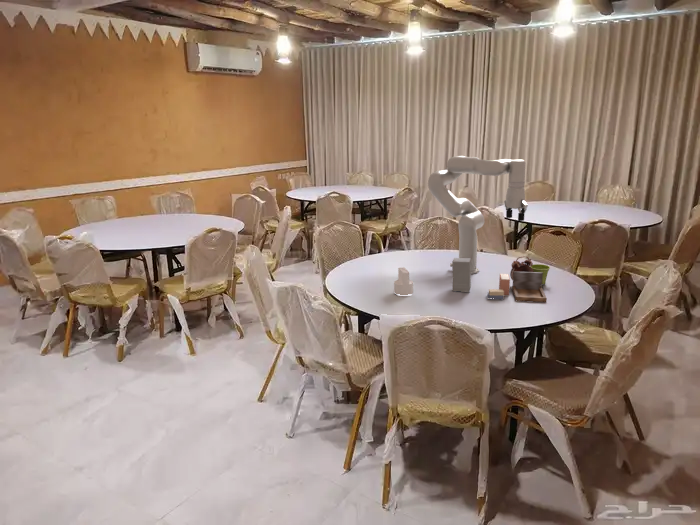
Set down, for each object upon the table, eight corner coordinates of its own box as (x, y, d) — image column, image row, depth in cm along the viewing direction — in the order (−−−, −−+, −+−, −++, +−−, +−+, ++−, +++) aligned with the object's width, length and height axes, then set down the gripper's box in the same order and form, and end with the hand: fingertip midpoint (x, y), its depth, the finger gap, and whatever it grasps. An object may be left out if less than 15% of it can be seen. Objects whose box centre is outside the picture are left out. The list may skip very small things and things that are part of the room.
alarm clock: (528, 283, 254) (530, 254, 250) (533, 286, 249) (535, 257, 245) (508, 285, 252) (510, 256, 248) (513, 288, 248) (515, 258, 244)
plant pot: (550, 286, 249) (551, 269, 246) (530, 285, 251) (531, 269, 248) (547, 280, 257) (548, 264, 255) (527, 280, 259) (528, 263, 257)
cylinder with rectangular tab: (415, 296, 240) (415, 272, 237) (396, 297, 238) (396, 273, 235) (410, 290, 248) (410, 266, 245) (392, 291, 247) (392, 268, 244)
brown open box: (515, 300, 230) (516, 282, 228) (512, 289, 246) (513, 271, 244) (546, 302, 227) (547, 283, 225) (541, 290, 243) (542, 272, 241)
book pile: (487, 299, 233) (487, 291, 232) (487, 296, 237) (487, 288, 236) (503, 300, 231) (504, 292, 230) (503, 297, 235) (503, 289, 234)
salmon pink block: (500, 295, 238) (500, 279, 236) (498, 289, 247) (499, 273, 244) (508, 295, 237) (509, 279, 235) (507, 289, 246) (508, 273, 244)
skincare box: (470, 289, 248) (472, 257, 244) (469, 293, 242) (470, 261, 237) (453, 287, 251) (454, 256, 247) (451, 292, 244) (452, 260, 240)
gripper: (499, 184, 257) (498, 217, 261) (521, 187, 241) (519, 222, 245) (512, 183, 259) (510, 216, 264) (534, 186, 243) (532, 221, 248)
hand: (514, 219), depth 255 cm, fingers open, 9 cm apart
